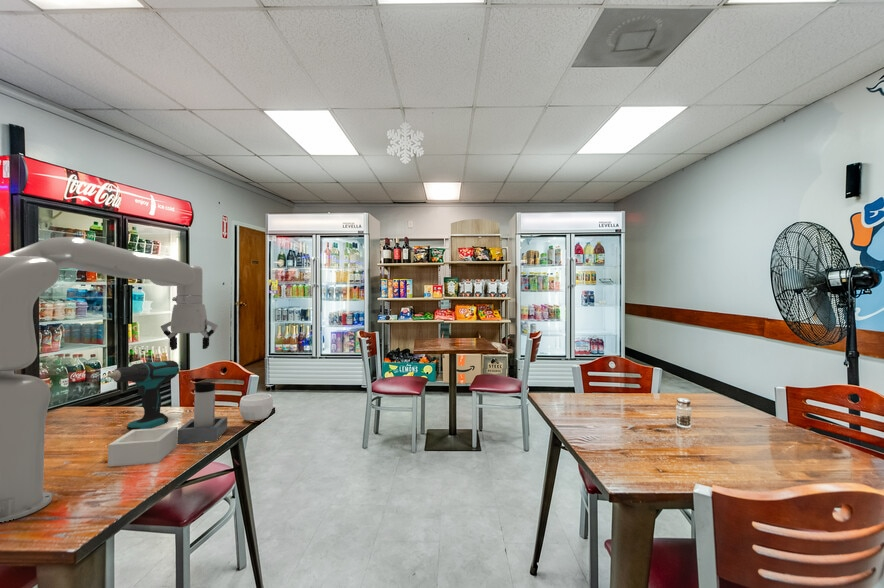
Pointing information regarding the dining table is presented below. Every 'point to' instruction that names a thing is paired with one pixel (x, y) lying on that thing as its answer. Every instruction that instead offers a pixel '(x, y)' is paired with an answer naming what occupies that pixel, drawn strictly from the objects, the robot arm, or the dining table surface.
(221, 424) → the socket block
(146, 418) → the power drill
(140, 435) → the light grey square tray
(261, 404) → the cup
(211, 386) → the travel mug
